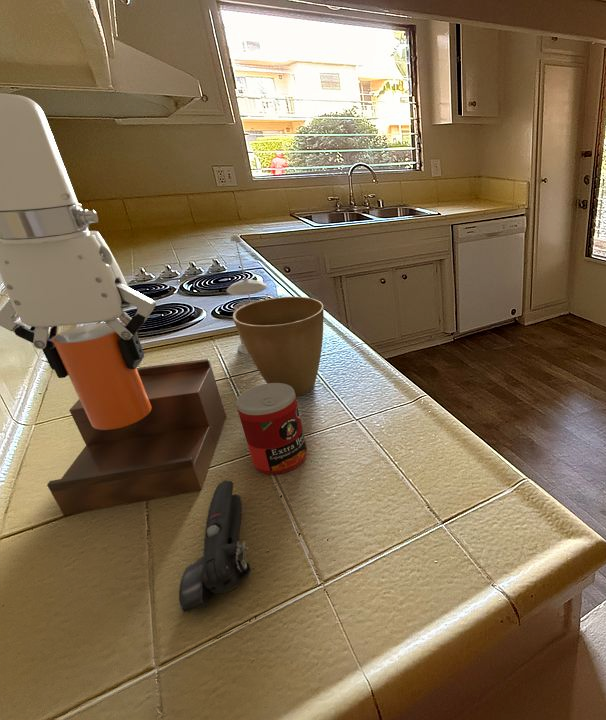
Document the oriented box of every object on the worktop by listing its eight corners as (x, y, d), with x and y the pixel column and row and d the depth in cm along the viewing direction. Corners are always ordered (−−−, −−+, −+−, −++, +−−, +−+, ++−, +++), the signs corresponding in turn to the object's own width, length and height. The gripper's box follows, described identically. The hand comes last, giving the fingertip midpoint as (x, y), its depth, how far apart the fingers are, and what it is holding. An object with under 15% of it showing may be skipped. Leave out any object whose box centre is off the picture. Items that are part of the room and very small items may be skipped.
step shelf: (63, 515, 60) (24, 445, 54) (119, 432, 76) (93, 372, 71) (201, 490, 64) (177, 422, 59) (226, 416, 80) (209, 358, 75)
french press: (255, 334, 112) (229, 229, 100) (298, 338, 110) (277, 231, 98) (227, 352, 103) (196, 239, 92) (274, 356, 101) (248, 241, 90)
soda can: (82, 433, 58) (40, 346, 52) (103, 406, 63) (68, 325, 58) (142, 424, 60) (107, 339, 54) (158, 399, 65) (128, 319, 60)
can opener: (253, 603, 48) (240, 566, 46) (177, 626, 46) (159, 588, 44) (262, 492, 63) (252, 459, 61) (205, 505, 61) (193, 471, 59)
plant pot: (269, 418, 79) (247, 332, 72) (243, 385, 89) (222, 307, 82) (349, 389, 88) (337, 310, 81) (317, 362, 98) (304, 290, 91)
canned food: (276, 482, 65) (258, 417, 60) (241, 463, 69) (223, 400, 64) (319, 453, 71) (306, 391, 66) (285, 437, 74) (271, 377, 69)
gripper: (143, 214, 56) (187, 347, 64) (-35, 222, 51) (36, 365, 59) (120, 225, 49) (171, 372, 57) (-86, 235, 45) (1, 394, 53)
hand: (102, 367), depth 58 cm, fingers closed on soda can, 6 cm apart
